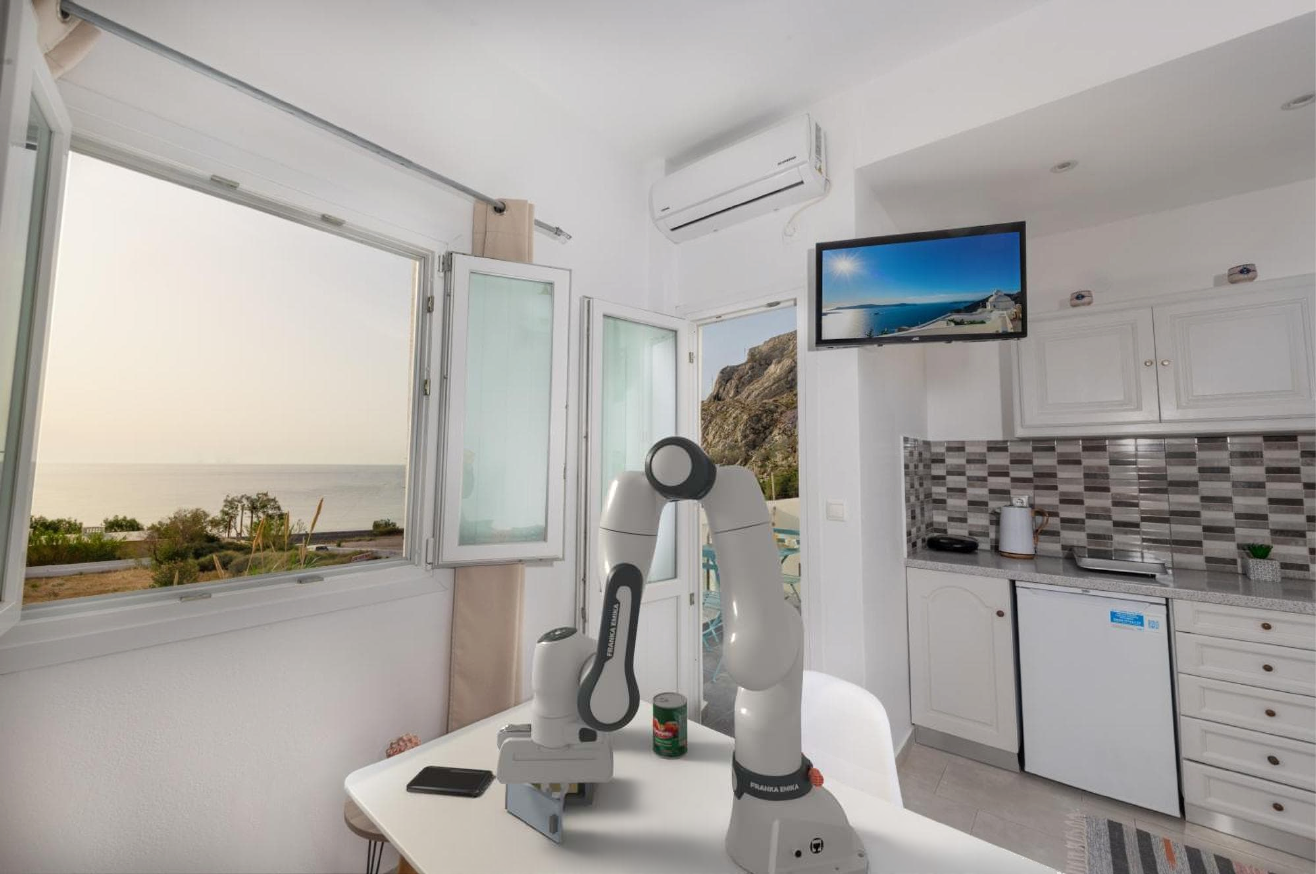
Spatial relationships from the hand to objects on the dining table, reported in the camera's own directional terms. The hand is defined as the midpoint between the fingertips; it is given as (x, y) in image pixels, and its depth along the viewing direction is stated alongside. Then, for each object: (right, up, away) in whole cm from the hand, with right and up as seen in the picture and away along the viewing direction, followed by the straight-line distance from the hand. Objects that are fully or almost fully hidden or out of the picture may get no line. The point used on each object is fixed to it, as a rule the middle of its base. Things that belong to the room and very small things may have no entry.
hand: (555, 805), depth 89 cm
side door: (-4, -3, 0) cm, 5 cm away
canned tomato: (+21, -6, +25) cm, 33 cm away
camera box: (-2, -5, +10) cm, 12 cm away
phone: (-24, -5, +13) cm, 27 cm away
